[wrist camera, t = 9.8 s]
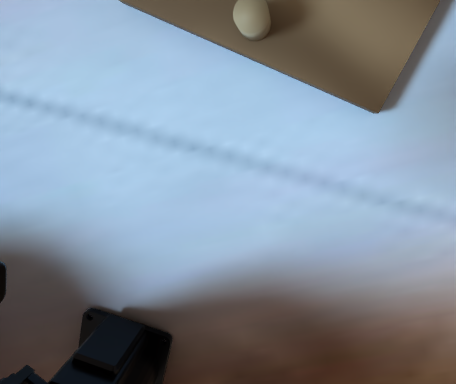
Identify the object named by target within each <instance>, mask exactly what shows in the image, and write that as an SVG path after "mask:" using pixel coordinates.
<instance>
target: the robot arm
mask: <svg viewBox="0 0 456 384" xmlns="http://www.w3.org/2000/svg"><path fill="white" fill-rule="evenodd" d="M6 270H7V269H6V265H5V263H3V262H1V261H0V303H1V302H2V300H3V298H4V296H5V294H6ZM90 315H92V317H91V316H90ZM162 339H165V340H166V341H167V342H165V341H163V340H162ZM171 344H172V337H171V335H170V334H169V333H167V332H164V331H161V330H158V329H155V328H152V327H149V326H146V325H143V324H140V323H137V322H134V321H131V320H128V319H125V318H122V317H119V316H116V315H113V314H110V313H107V312H104V311H101V310H98V309H95V308H89V309H87V310H86V311H85V312H84V314H83V319H82V326H81V333H80V340H79V348H78V349H77V350H76V351H75V352H74V354H73V355H72V356H71V357H70V358H69V360H68V361H67V362H66V363H65V364H64V365H63V366H62V367H61V369H60V370H59V371H58V372H57V373H56V374H55V375H54V376H53V377H52V379H51V380H50V381H49V382H48V383H47V382H46V381H45V380H43V379H42V378H41V377H39V376H38V375H37V374H36V373H34V371H35V370H34V369H32V368H31V367H30V366H28V365H26V366H25V367H24V368H22V369H21V370H20V371H19V372H18V373H16V374H14V373H12V374H11V375H10V376H9V377H7V378H3V379H1V380H0V384H163V380H164V375H165V371H166V366H167V362H168V357H169V353H170V349H171Z"/></svg>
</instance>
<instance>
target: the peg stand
mask: <svg viewBox="0 0 456 384" xmlns="http://www.w3.org/2000/svg"><path fill="white" fill-rule="evenodd" d="M119 1H121V2H122V3H124V4H126V5H128V6H131V7H133V8H135V9H138V10H140V11H142V12H144V13H147V14H149V15H151V16H153V17H156V18H158V19H160V20H163V21H165V22H167V23H169V24H172V25H174V26H176V27H178V28H181V29H183V30H185V31H188V32H190V33H192V34H194V35H197V36H199V37H201V38H203V39H206V40H208V41H210V42H213V43H215V44H217V45H219V46H222V47H224V48H226V49H228V50H231V51H233V52H235V53H238V54H240V55H242V56H244V57H247V58H249V59H251V60H253V61H256V62H258V63H260V64H263V65H265V66H267V67H269V68H272V69H274V70H276V71H278V72H281V73H283V74H285V75H288V76H290V77H292V78H294V79H297V80H299V81H301V82H303V83H306V84H308V85H310V86H313V87H315V88H317V89H319V90H322V91H324V92H326V93H329V94H331V95H333V96H335V97H338V98H340V99H342V100H344V101H347V102H349V103H351V104H354V105H356V106H358V107H360V108H363V109H365V110H367V111H369V112H372V113H379V111H380V109H381V108H382V106H383V104H384V102H385V100H386V98H387V97H388V95H389V93H390V91H391V89H392V88H393V86H394V84H395V82H396V80H397V78H398V77H399V75H400V73H401V71H402V69H403V68H404V66H405V64H406V62H407V60H408V58H409V57H410V55H411V53H412V51H413V49H414V47H415V46H416V44H417V42H418V40H419V38H420V37H421V35H422V33H423V31H424V29H425V27H426V26H427V24H428V22H429V20H430V18H431V16H432V15H433V13H434V11H435V9H436V7H437V6H438V4H439V2H440V0H119Z"/></svg>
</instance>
